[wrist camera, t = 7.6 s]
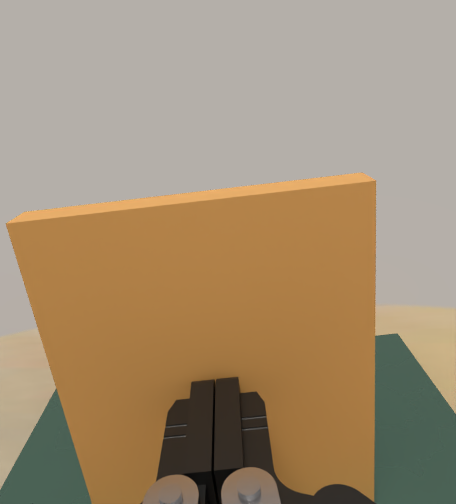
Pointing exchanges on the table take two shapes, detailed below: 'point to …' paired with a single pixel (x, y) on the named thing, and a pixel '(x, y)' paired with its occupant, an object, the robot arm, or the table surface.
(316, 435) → the wooden stand
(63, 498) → the heat sink mount
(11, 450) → the table surface
